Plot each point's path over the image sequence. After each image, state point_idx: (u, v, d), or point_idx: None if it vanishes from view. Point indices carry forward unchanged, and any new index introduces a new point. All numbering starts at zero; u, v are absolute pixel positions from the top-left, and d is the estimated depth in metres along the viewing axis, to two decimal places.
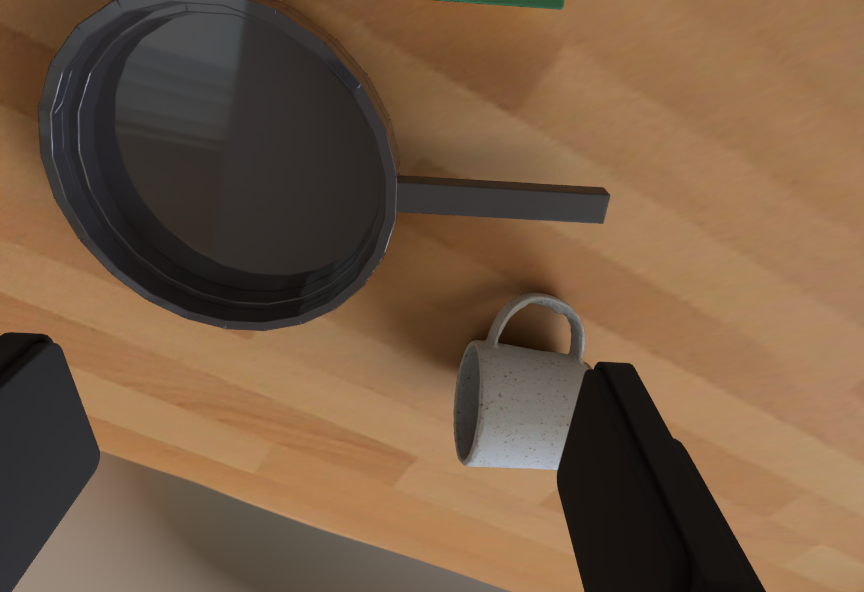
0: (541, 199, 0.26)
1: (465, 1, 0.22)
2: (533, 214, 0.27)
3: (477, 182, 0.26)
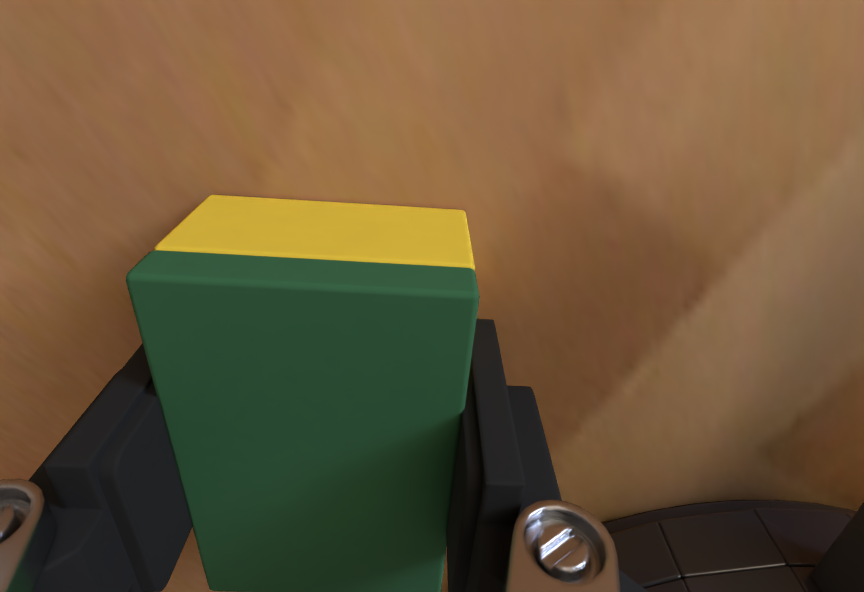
0: None
1: (449, 508, 0.09)
2: None
3: None
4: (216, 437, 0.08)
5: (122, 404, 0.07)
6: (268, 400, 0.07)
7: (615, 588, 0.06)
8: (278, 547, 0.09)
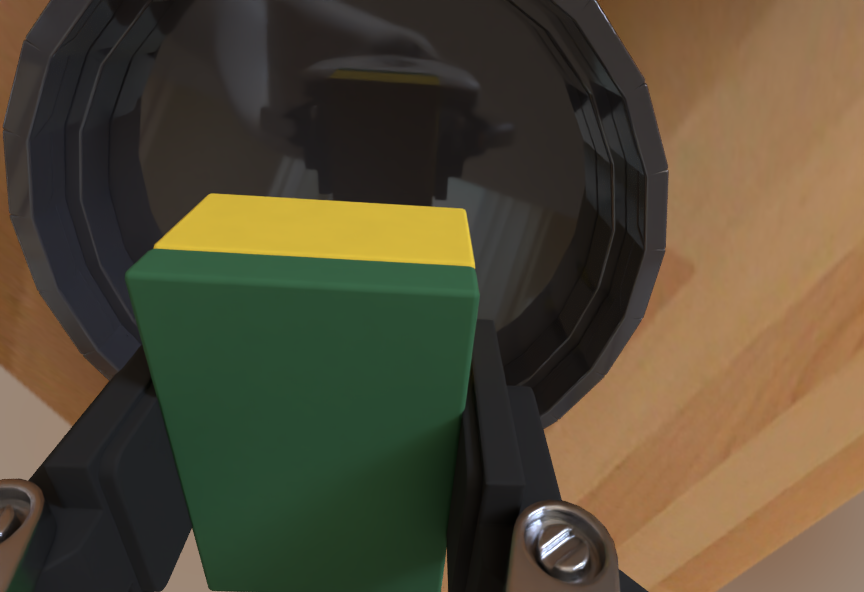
0: None
1: (449, 507, 0.09)
2: None
3: None
4: (215, 436, 0.08)
5: (122, 404, 0.07)
6: (267, 399, 0.07)
7: (615, 588, 0.06)
8: (278, 547, 0.09)
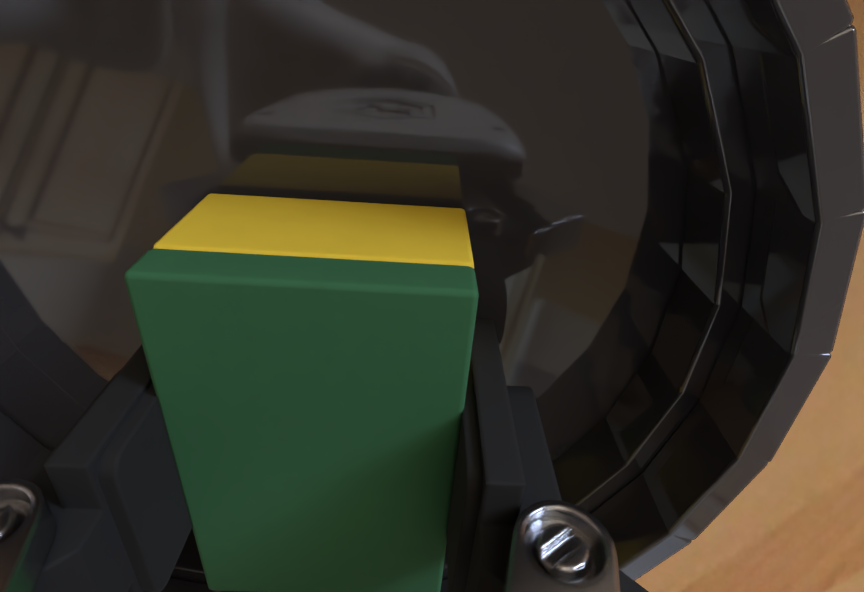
0: None
1: (449, 507, 0.09)
2: None
3: None
4: (215, 436, 0.08)
5: (122, 404, 0.07)
6: (267, 399, 0.07)
7: (615, 588, 0.06)
8: (277, 546, 0.09)
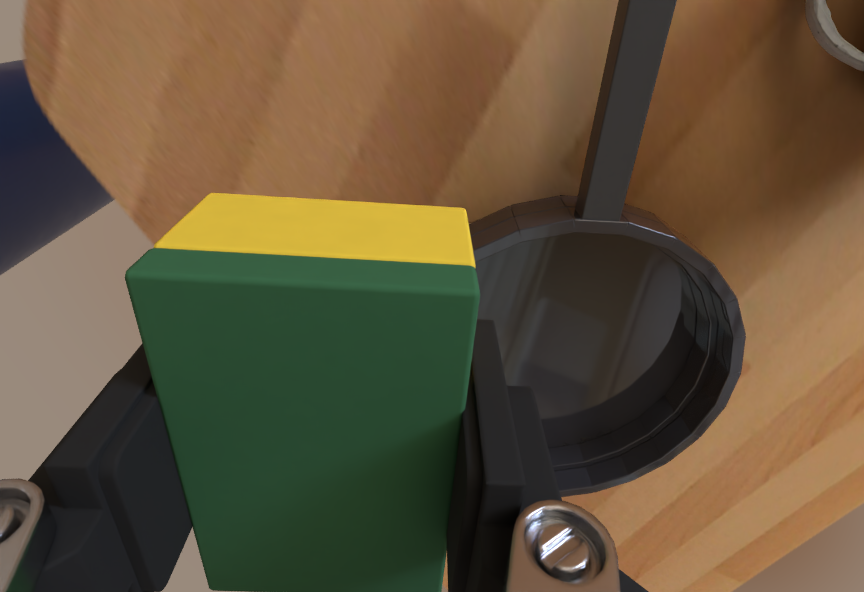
0: (640, 16, 0.17)
1: None
2: (661, 26, 0.18)
3: (598, 111, 0.20)
4: (216, 436, 0.08)
5: (122, 404, 0.07)
6: (268, 399, 0.07)
7: (615, 588, 0.06)
8: (278, 546, 0.09)
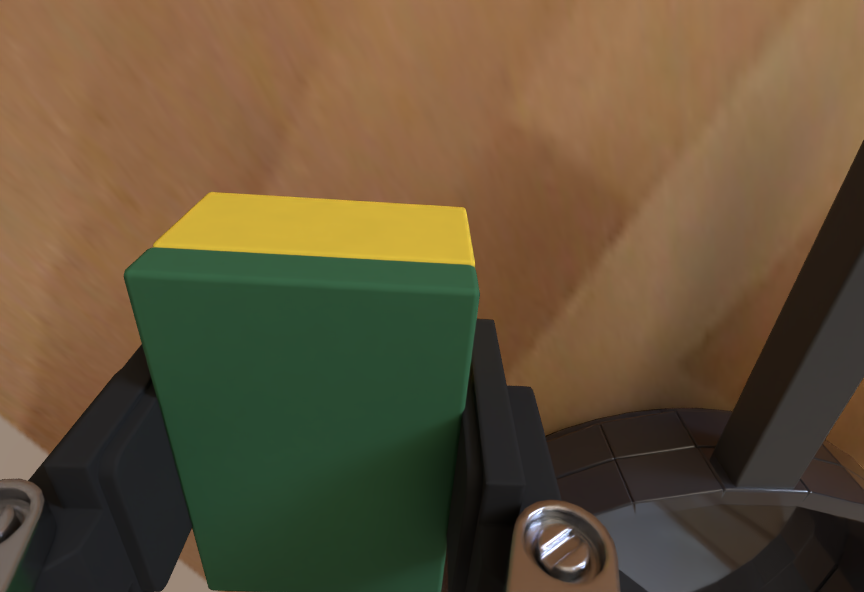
0: None
1: None
2: None
3: (783, 338, 0.12)
4: (215, 435, 0.08)
5: (122, 404, 0.07)
6: (267, 398, 0.07)
7: (615, 588, 0.06)
8: (278, 546, 0.09)
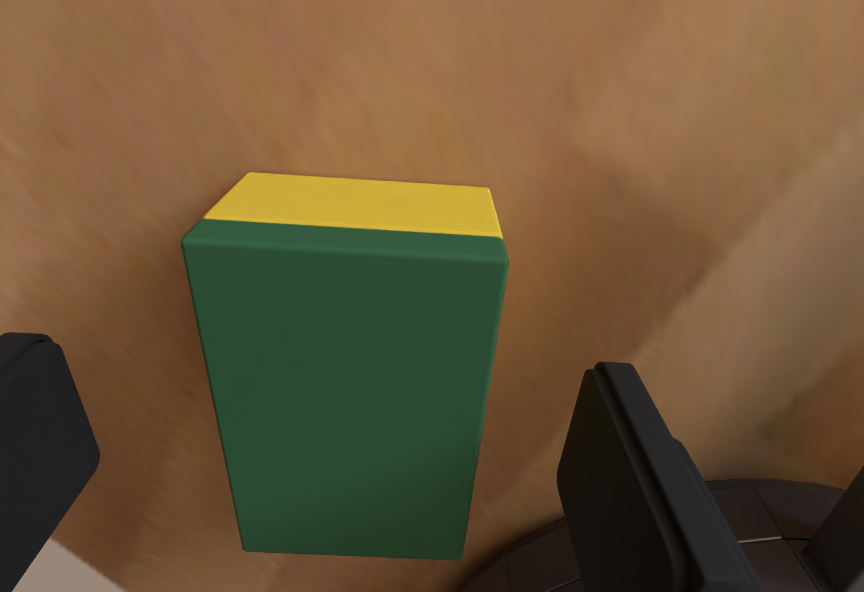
0: None
1: (474, 469, 0.09)
2: None
3: None
4: (257, 398, 0.08)
5: None
6: (308, 361, 0.08)
7: None
8: (310, 508, 0.10)
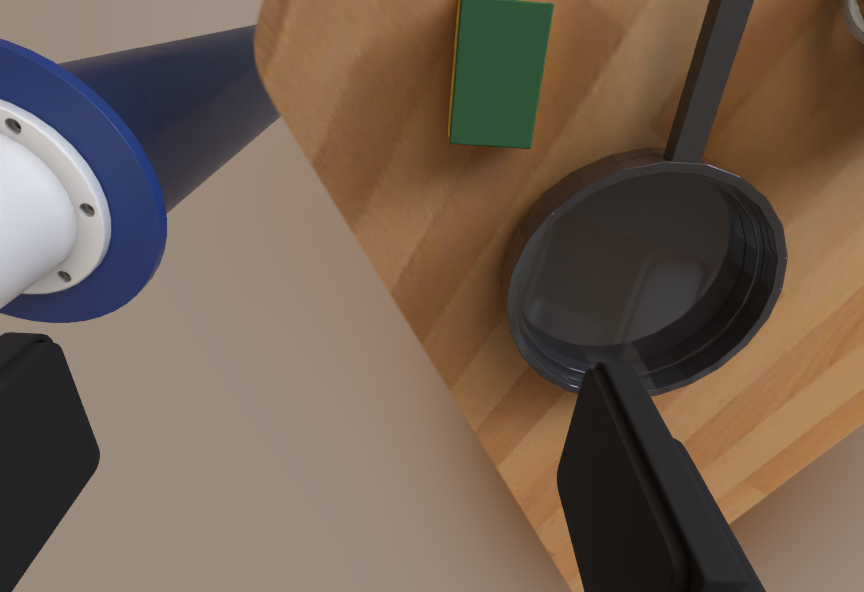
0: (727, 9, 0.25)
1: (538, 96, 0.27)
2: (742, 16, 0.25)
3: (689, 80, 0.27)
4: (471, 60, 0.26)
5: None
6: (490, 44, 0.26)
7: None
8: (479, 117, 0.27)
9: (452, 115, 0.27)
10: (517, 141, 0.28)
